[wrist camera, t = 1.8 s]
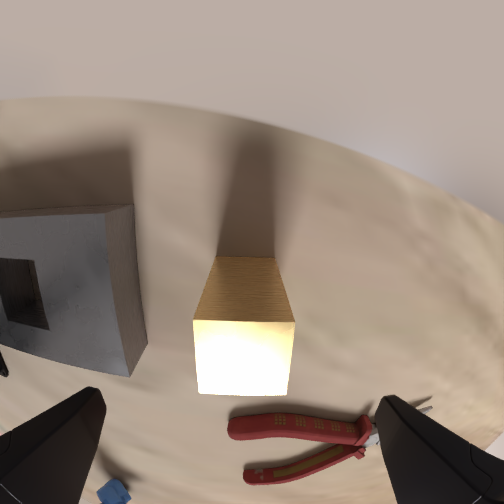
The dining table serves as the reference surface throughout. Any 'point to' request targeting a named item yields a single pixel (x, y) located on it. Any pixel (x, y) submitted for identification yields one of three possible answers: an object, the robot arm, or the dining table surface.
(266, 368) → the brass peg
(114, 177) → the dining table surface
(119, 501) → the grapes
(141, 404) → the dining table surface
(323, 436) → the pliers
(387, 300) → the dining table surface
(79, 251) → the grey block with hole
